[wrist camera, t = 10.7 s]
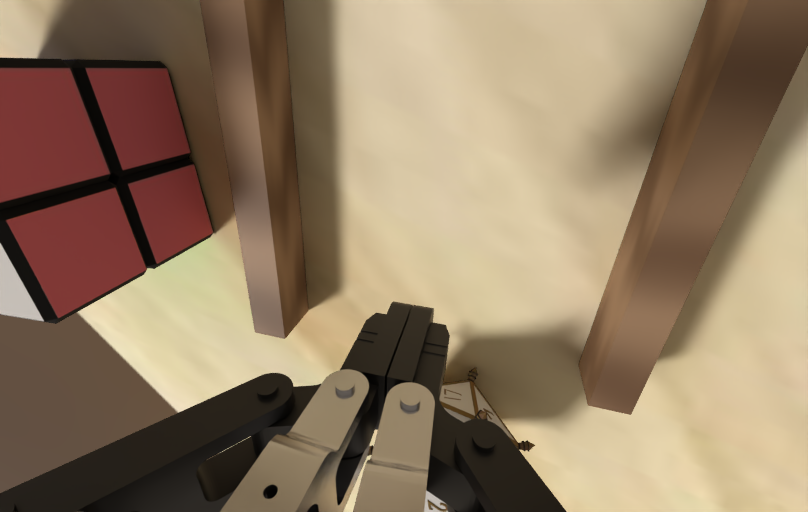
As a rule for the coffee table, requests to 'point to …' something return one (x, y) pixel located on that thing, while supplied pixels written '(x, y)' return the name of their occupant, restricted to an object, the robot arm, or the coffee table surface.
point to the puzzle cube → (89, 182)
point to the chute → (652, 215)
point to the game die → (465, 406)
